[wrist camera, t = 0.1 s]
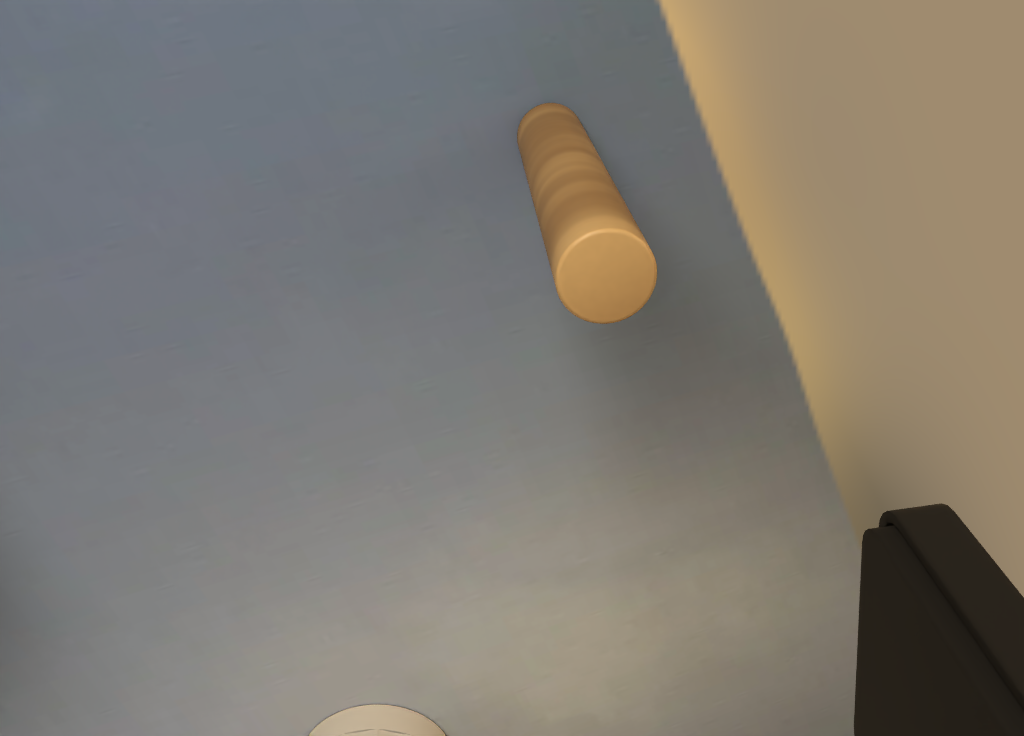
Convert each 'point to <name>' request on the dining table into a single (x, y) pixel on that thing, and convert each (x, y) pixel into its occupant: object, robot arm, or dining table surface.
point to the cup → (377, 723)
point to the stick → (583, 220)
